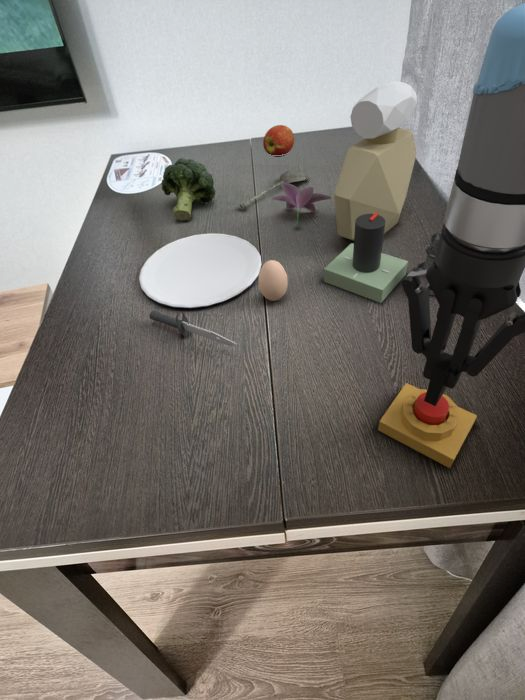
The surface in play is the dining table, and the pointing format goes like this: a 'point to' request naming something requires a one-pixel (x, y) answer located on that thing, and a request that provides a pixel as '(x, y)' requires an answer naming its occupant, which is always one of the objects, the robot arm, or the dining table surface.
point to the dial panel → (365, 275)
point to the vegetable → (187, 185)
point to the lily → (299, 198)
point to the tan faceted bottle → (377, 158)
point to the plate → (200, 270)
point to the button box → (427, 427)
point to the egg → (273, 280)
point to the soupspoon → (285, 177)
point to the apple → (278, 140)
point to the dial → (368, 242)
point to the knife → (188, 327)
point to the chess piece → (430, 254)
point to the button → (431, 410)
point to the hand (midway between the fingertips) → (434, 396)
